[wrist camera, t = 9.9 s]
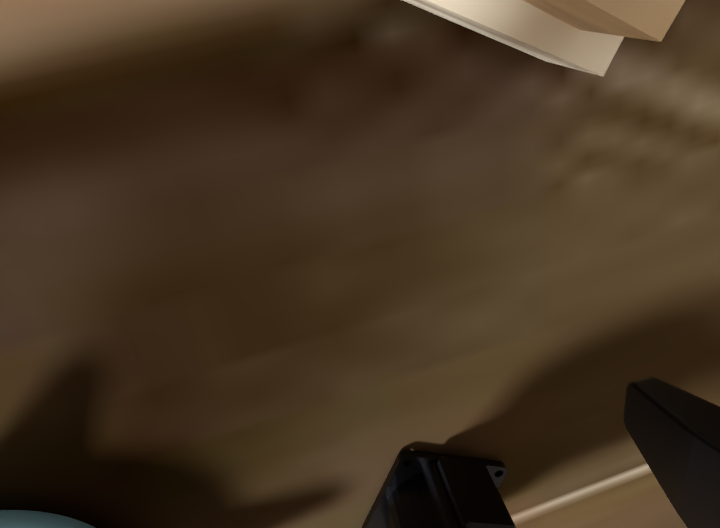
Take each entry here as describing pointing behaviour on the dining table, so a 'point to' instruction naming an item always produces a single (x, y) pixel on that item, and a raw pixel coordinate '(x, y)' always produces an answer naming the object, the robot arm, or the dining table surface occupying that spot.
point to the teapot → (37, 520)
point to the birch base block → (530, 31)
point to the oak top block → (615, 16)
